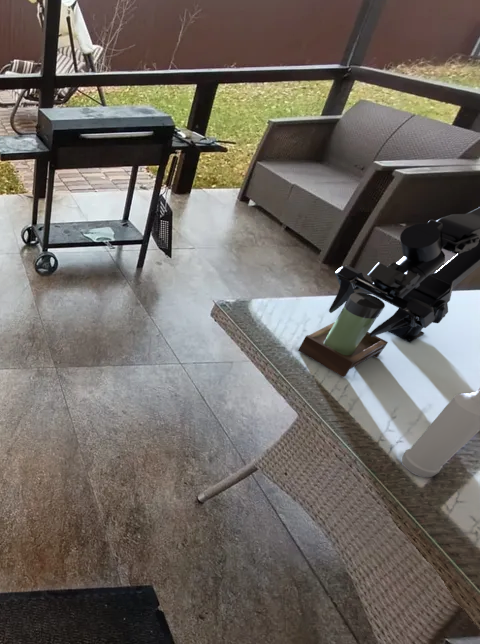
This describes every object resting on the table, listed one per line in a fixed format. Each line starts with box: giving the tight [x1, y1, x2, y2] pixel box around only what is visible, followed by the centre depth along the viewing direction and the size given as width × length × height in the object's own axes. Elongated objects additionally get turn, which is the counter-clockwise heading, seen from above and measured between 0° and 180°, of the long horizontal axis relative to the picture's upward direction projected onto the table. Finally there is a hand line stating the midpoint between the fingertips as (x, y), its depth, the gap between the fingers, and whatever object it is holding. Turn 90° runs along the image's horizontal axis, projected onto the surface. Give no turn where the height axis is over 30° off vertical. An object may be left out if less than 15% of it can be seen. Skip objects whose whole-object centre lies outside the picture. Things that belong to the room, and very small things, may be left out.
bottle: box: [400, 387, 480, 478], centre depth 78 cm, size 5×5×25 cm
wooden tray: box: [297, 321, 389, 378], centre depth 109 cm, size 14×10×4 cm
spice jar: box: [324, 292, 386, 355], centre depth 104 cm, size 6×6×13 cm
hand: (349, 323), depth 103 cm, fingers open, 9 cm apart
